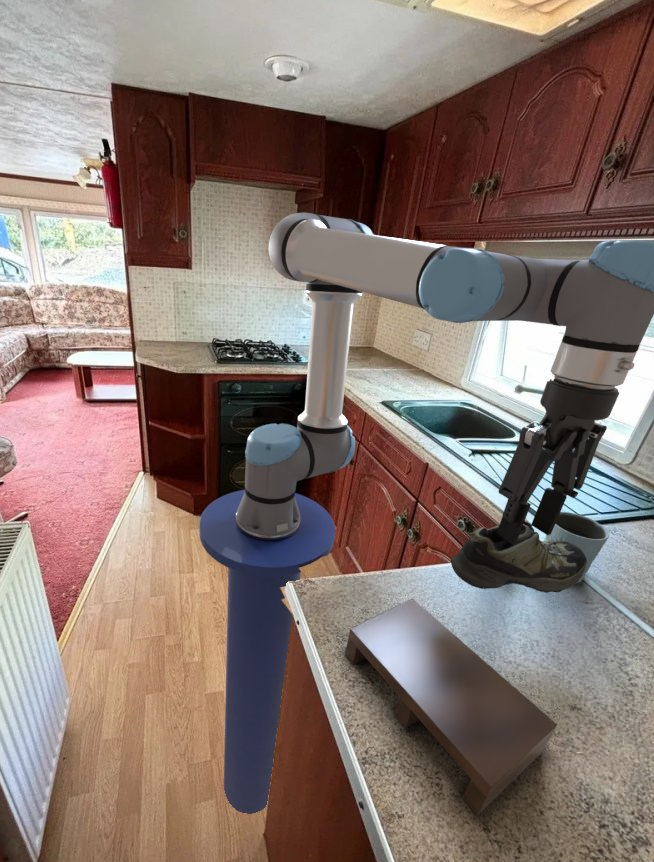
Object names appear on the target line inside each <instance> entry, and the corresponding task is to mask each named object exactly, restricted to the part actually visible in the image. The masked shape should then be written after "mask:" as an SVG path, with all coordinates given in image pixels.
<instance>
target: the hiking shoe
mask: <svg viewBox="0 0 654 862" xmlns="http://www.w3.org/2000/svg"><path fill="white" fill-rule="evenodd" d="M531 524H532V522H527V521H524V524H523V526H522V529H521V531H520V534H519V536H518V539H517V542H516V543H515V544H511V543H510V542H508V541H507V540H506V539H504V538H503V537H501V536H500V535H498V534H497V530H498V527H499V525H500V524H498V525H495V526H493V527H490V528H487V527H486V526H485V527H479V528H477V529H475V530H473V532H467V534H468V535H469V538H468V539H467V541H466V542H465V543H464V545H463V546H462V547H461V548H460V550H459V552H458V553H457V554H454V555H453V556H452V557H451V558H450V563H451V568H452V570H453V572H454V573H455V575H456V576H457V577H458V578H459V579H461V580H462V581H463V582H464V583H466V584H467V585H469V586H472V587H473V588H477V589H480V590H481V589H482V590H489V589H490V590H491V589H499V588H501V587H505V586H507V585H520V586H524V587H527V588H530V589H531V590H535V591H537V592H541V593H548V594H549V593H557V594H558V593H562V592H563V591H565V590H568V589H571V587H573V586H574V585H576V583H577V582H578V580H579V579H580V578H581V577H582V575H583V573H584V570H585V567H586V564H587V559H586V556H585V554H584V553H583V551H582V550H581V549H580V548H579V547H577V546H576V545H574V544H572V543H569V542H567V541H544V540H543V541H542V540H541V539H540V534H539V532H537V531H535V529H534V527H533V526H532V525H531ZM577 584H578V583H577Z"/></svg>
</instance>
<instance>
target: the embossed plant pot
mask: <svg viewBox="0 0 654 862" xmlns="http://www.w3.org/2000/svg"><path fill="white" fill-rule="evenodd" d="M609 538H610V532H609V531H608V529H606V527H604V526H603V525H602V524H601V523H600V522H598V521H595V520H594V519H592V518H589V517H587V516H584V515H582V514H578V513H574V512H569V511H561V512H560V514H559V516H558V519H557V521H556V523H555V526H554V528H553V530H552V533H551V534H550V535H546V534H545V537H544V539H543V541H567V542H569V543H572V544H574V545H576V546H577V547H579V548H580V549H581V550H582V551H583V553H584V554H585V556H586V559H587V564H586V567H585V570H584V573H583V575H582V577H581V578H580V579H579V580H578V582H577V583H576V584H579V583H581V582H582V581H583V580H584V578H585V577H586V574H587V573H588V571H589V570H590V568H591V566H592V565H593V562H594V561H595V560H596V558H597V556H598V555H599V553H600V552H601V550H602V548H603V547H604V546H605V544H606V542H607V541H608V539H609ZM576 584H575V585H576Z"/></svg>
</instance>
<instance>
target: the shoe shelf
mask: <svg viewBox="0 0 654 862" xmlns="http://www.w3.org/2000/svg"><path fill="white" fill-rule="evenodd" d="M344 657H346V659H347V660H348V661H349V662H350V664H351V665H352V666H354V665H356V664H358V663H360V662H362V661H363V660H365V659H366V660H367V662H369V664H371V666H372V667H374V669H375V671H376V672H377V673H378V674H379V675H380V676H381V677H382V678H383V680H384V681H385V682H386V683H387V685H389V686H390V688H391V689H392V690H393V691H394V692H395V693H396V694H397V695H398V697H399V701H398V705H397V706H396V707H397V708H396V711H395V714H394V717H395V719H396V720H397V721H398V722H399V723H400V725H401V726H402V727H403V728H404V730H405V729H406V730H407V729H408V728H409V727H410V726H412V725H413V724H415V723H416V722H418V721H420V722H421V724H423V725H424V726H425V728H426V729H427V730H428V732H429V733H430V734H432V736H433V738H434V739H436V741H437V742H438V743H439V744H440V746H441V747H443V749H444V750H445V751H446V752H447V754H448V755H449V756H450V757H451V758H452V759H453V760H454V761H455V763H456V765H458V766H459V767H460V769H461V770H462V771H463V772H464V773H465V774H466V775H467V776H468V778H469V779H470V781H469V783H468V785H467V787H466V789H465V791H464V794H463V796H462V800H463V801H464V803H465V804H466V806H468V808H469V809H470V810H471V811H472V813H473V814H474V815H475V816H476V817H478V816H479V815H480V814H481V813H482V812H483V811H484V810H485V809H486V808H487V807H488V806H490V804H492V802H493V801H495V799H496V798H498V796H499V795H501V793H502V792H504V791H505V790H506V789H507V788H508V787H509V786H510V785H511V783H513V782H514V781H515V780H516V779H517V778H518V777H519V776H521V774H522V773H523V772H524V771H525V770H526V769H527V768H528V767H530V765H531V764H532V763H533V762H534V761H535V760H536V759H537V758H538V757H539V756H540V755H541V754H542V753H543V751H544V750H545V748H546V746H547V744H548V743H549V741H550V739H551V737H552V736H553V734H554V732H555V730H556V728H557V727H558V724H557V723H556V722H555V721H554V720H553V719H552V718H550V717H549V716H548V715H547V714H546V713H544V711H542V710H541V709H540V708H539V707H538V706H537V705H535V704H534V702H532V701H531V700H530V699H528V697H527V696H525V694H523V693H522V692H521V691H519V690H518V688H516V687H515V686H514V685H513V684H511V683H510V682H509V681H508V680H507V679H506V678H504V677H503V676H502V674H500V673H499V672H498V671H496V669H495V668H493V667H492V666H491V665H490V664H489V663H487V662H486V660H484V659H483V658H481V656H479V655H478V654H477V653H476V652H475V651H473V650H472V649H471V648H470V647H469V646H468V645H467V644H466V643H465V642H463V641H462V640H461V639H460V638H459V637H457V635H456V634H454V633H453V632H452V631H451V630H449V628H448V627H446V626H445V625H443V623H442V622H440V620H438V619H437V618H436V617H435V616H433V615H432V614H431V613H430V612H429V611H428V610H427V609H425V608H424V607H423V606H422V605H421V604H420V603H419V602H417V601H416V600H415V599H414V598H410V599H409V600H407V601H405V602H402V603H400V604H398V605H396V606H394V607H392V608H390V609H388V610H385V611H384V612H381V613H379V614H378V615H375V616H373V617H371V618H370V619H366V621H363V622H361V623H359V624H357V625H355V626H352V627H351V628H349V632H348V638H347V643H346V648H345V653H344Z"/></svg>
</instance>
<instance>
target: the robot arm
mask: <svg viewBox="0 0 654 862" xmlns="http://www.w3.org/2000/svg"><path fill="white" fill-rule="evenodd" d="M593 249H594V250H593V252H592V254H591V255H590V256H589V258H588V259H583V260H563V259H562V260H561V259H559V260H558V259H544V258H543V259H541V258H533V257H526V256H520V255H512V254H504V253H499V252H494V251H487V250H485V249H481V248H476V247H469V246H462V247H459V246H451V245H446V244H439V243H432V242H424V241H417V240H411V239H404V238H397V237H391V236H390V237H389V236H384V235H383V236H382V235H376V234H374V233H373V231H372V229H371V228H370V227H369V226H367V225H366V224H364V223H363V222H358V221H355V220H353V219H351V218H341V217H334V216H327V215H321V214H315V213H311V212H295V213H292V214H289V215H286V216H285V217H284V218H282V219H281V220H280V221H279V222H278V223H277V224H276V225H275V227H274V228H273V229H272V232H271V234H270V237H269V240H268V255H269V259H270V262H271V264H272V266H273V268H274V269H275V271H276V272H277V273H278V274H279V275H280V276H282V277H284V278H285V279H287V280H290V281H294V282H299V283H305V293H306V295H307V296H308V297H309V299H310V300H311V302H312V304H311V315H310V316H311V317H310V333H309V345H308V360H307V373H306V374H307V375H306V389H305V401H304V402H305V403H304V410H303V412H301V413H300V414H299V415H298V416H297V423H296V424H297V425H296V426H294V425H291V424H289V423H278V424H277V423H269V424H265V425H264V424H263V425H261V426H258V427H257V428H255V429H253V430H252V432H250V434H249V435H248V437H247V441H246V447H245V451H244V454H245V456H244V457H245V469H244V470H245V473H244V474H245V475H244V490H245V493H244V495H243V498H242V500H241V503H240V505H239V507H238V510H237V513H236V525H237V528H238V529H239V530H240V531H241V532H242V533H243V534H244V535H246V536H248V537H250V538H253V539H256V540H260V541H280V540H284V539H287V538H289V537H291V536H293V535H294V534H295V533H296V532H297V531H298V530H299V527H300V513H299V509H298V505H297V502H296V498H295V493H296V489H297V482H299V481H302V480H306V479H310V478H313V477H317V476H320V475H324V474H331V473H334V472H337V471H338V470H341V469H343V468H345V467H346V466H347V465H349V463H350V462H351V461H352V459H353V457H354V455H355V451H356V438H355V436H353V434H354V432H353V430H352V428H351V426H349V425H348V422H349V421H348V419H347V418H346V416H345V415H344V414H343V409H344V408H343V407H344V399H345V398H344V397H345V389H346V378H347V369H348V360H349V351H350V341H351V332H352V323H353V315H354V305H355V303H356V301H358V300H359V298H361V296H363V293H365V294H369V295H371V296H372V295H373V296H376V297H379V298H382V299H386V300H391V301H394V302H396V303H397V302H398V303H401V304H404V305H407V306H412V307H416V308H419V309H422V310H425V311H426V313H427V315H429V316H431V317H432V318H434V319H435V320H438V321H443V322H444V321H445V322H450V323H455V324H464V323H465V324H466V323H470V322H492V321H493V322H504V321H506V322H508V321H509V322H512V321H515V322H517V321H518V322H519V321H520V322H528V323H536V324H543V325H553V326H557V327H565V329H564V330H565V331H564V334H563V336H562V339H561V342H560V344H559V347H558V350H557V352H556V355H555V358H554V360H553V363H552V366H551V368H550V373H551V374H552V375H553V376H551V377H549V378H548V379H547V381H546V384H545V387H544V389H543V392H542V394H541V398H540V400H539V402H540V405H541V407H543V408H544V409H545V414H544V415H543V418H542V419H541V420H540V422H539V424H538V426H536V427H533V428H531V427H529V426H523V427H522V428H521V429H520V431H519V437H518V444H517V446H516V448H515V450H514V453H513V455H512V458H511V460H510V462H509V466H508V468H507V470H506V472H505V475H504V476H503V479H502V482H501V484H500V486H499V489H498V493H499V494H500V495H502V496H503V497H505V498H506V499H507V501H506V503H505V507H504V509H503V513H502V515H501V519H500V523H499V524H498V525H499V527H498V530H497V534H498V535H500V536H501V537H503V538H504V539H506V540H507V541H508V542H510V543H511V544H515V543H516V542H517V539H518V536H519V534H520V531H521V529H522V526H523V524H524V521H525V519H526V518H527V516H528V513H529V511H530V508H531V506H532V504H531V503H529V500H530V498H531V497H532V495H533V494H534V492H535V491H536V489H537V487H538V486H539V484H540V483H541V481H542V480H543V478H544V477H545V475H546V473H547V472H548V470H549V469H550V467H551V466H552V464H553V469H552V477H551V484H550V486H551V487H546V488H545V489H544V492H543V494H542V497H541V499H540V502H539V503H538V507H537V509H536V511H535V514H534V517H533V520H532V522H531V525H532V527H533V528H535V529H537V530H538V531H540V532H541V533H543V534H545V536H546V535H550V534H551V533H552V530H553V528H554V526H555V523H556V521H557V519H558V516H559V514H560V512H562V510H563V507H564V505H565V502H566V500H567V497H569V498H572V499H575V498H576V497H577V496H578V495H579V491H576V490H581V489H582V488H583V486H584V483H585V482H586V481H585V480H586V478H587V475H588V473H589V470H590V467H591V464H592V462H593V459H594V456H595V454H596V451H597V450H598V447H599V445H600V444H599V443H600V441H601V440H602V439H603V437H604V435H605V433H606V432H607V429H608V427H607V426H606V425H604V424H601V423H598V422H596V421H603V420H605V419H608V417H610V416H611V413H612V411H613V409H614V407H615V404H616V403H617V400H618V398H619V395H620V391H619V389H618V388H617V387H618V386H619V387H620V386H621V385H624V383H625V380H626V378H627V376H628V373H629V372H630V371H631V370H633V369H634V368H635V362H634V360H635V357H636V355H637V352H638V350H639V348H640V346H641V343H642V341H643V339H644V337H645V334H646V332H647V330H648V328H649V326H650V324H651V322H652V319H653V317H654V240H637V239H636V240H634V239H631V240H629V239H625V240H624V239H623V240H622V239H621V240H606V241H602V242H600V243H598V244H597V245H596V246H595V248H593Z"/></svg>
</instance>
